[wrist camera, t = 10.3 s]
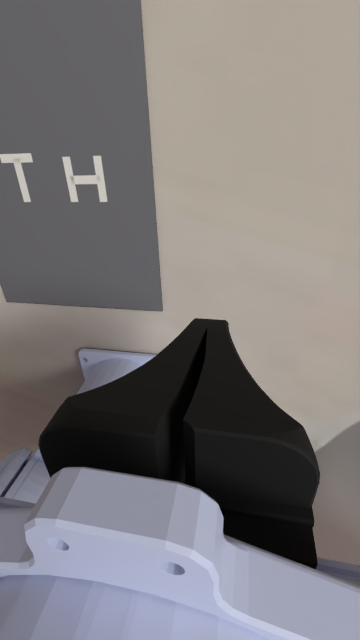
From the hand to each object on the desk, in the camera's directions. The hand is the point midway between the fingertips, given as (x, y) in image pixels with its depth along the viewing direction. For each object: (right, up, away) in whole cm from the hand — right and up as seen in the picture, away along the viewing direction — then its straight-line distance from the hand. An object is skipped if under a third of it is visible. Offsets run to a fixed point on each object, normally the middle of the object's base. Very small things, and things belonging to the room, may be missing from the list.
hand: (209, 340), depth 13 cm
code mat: (-9, +10, +7) cm, 15 cm away
